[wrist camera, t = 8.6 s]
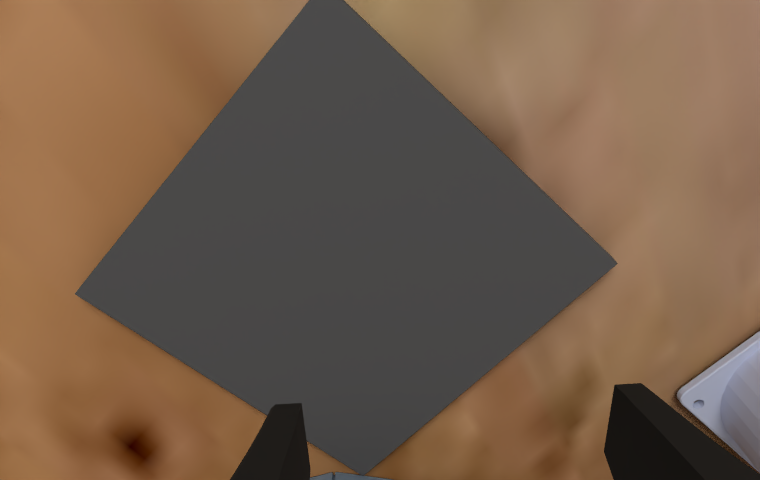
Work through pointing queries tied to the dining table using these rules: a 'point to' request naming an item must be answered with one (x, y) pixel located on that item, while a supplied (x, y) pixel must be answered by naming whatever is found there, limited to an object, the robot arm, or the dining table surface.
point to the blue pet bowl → (344, 477)
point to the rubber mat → (344, 244)
